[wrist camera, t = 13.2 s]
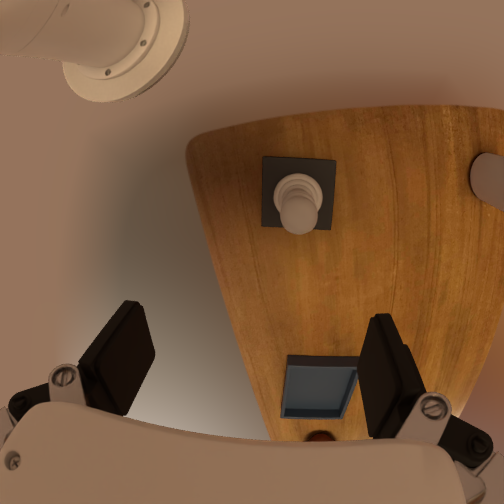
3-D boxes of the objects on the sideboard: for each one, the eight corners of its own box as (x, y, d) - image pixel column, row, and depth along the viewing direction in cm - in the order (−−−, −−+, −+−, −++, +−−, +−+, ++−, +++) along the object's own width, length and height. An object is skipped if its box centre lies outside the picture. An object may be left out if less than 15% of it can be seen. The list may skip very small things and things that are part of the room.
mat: (263, 156, 31) (262, 156, 30) (335, 160, 30) (336, 160, 30) (261, 224, 34) (261, 226, 34) (330, 228, 33) (330, 230, 33)
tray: (287, 354, 42) (287, 365, 40) (360, 356, 41) (362, 366, 38) (281, 408, 47) (280, 418, 45) (341, 409, 46) (342, 419, 44)
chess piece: (276, 221, 33) (271, 252, 25) (271, 174, 31) (265, 191, 23) (323, 218, 32) (334, 249, 24) (320, 171, 30) (332, 186, 22)
